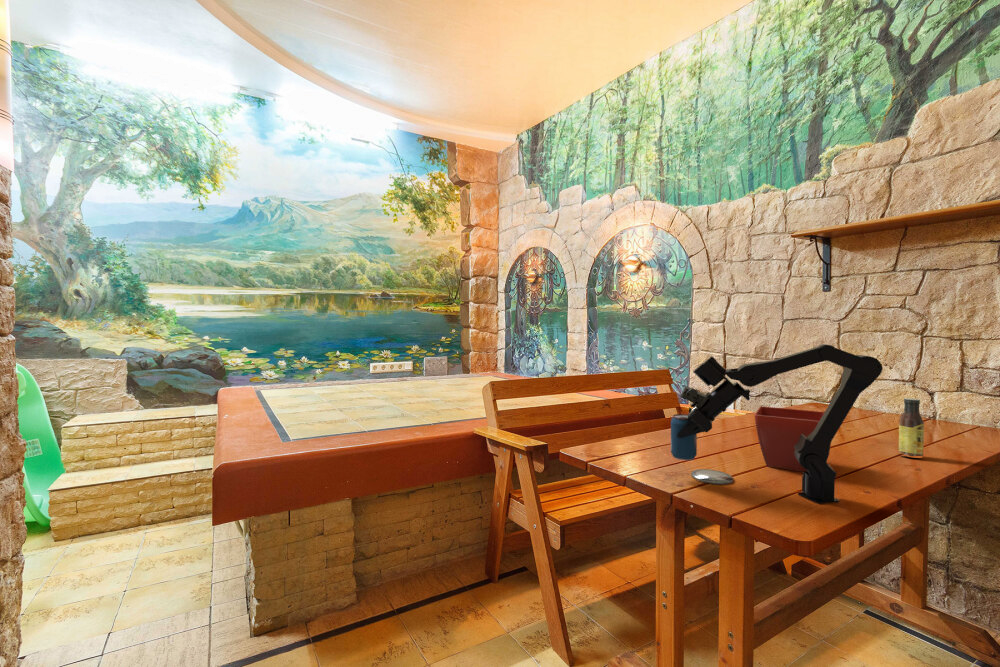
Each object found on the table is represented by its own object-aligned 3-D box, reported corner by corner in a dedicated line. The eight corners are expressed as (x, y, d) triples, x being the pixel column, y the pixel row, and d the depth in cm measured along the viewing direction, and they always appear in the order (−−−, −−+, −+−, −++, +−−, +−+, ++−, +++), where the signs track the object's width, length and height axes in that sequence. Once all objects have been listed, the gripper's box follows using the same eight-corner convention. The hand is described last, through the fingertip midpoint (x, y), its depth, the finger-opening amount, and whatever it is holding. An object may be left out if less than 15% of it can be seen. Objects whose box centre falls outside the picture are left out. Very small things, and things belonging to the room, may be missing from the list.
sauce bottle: (922, 461, 148) (923, 401, 147) (897, 456, 153) (898, 399, 152) (924, 457, 152) (925, 399, 152) (900, 453, 157) (901, 396, 156)
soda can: (701, 460, 126) (701, 418, 126) (679, 461, 125) (678, 419, 125) (687, 453, 133) (687, 413, 133) (666, 454, 132) (666, 414, 132)
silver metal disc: (741, 483, 126) (741, 480, 126) (707, 485, 124) (707, 482, 124) (715, 470, 137) (715, 467, 137) (683, 473, 135) (683, 470, 135)
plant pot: (759, 453, 156) (760, 405, 156) (826, 463, 145) (827, 411, 145) (753, 467, 141) (753, 414, 140) (828, 479, 130) (829, 422, 129)
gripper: (698, 374, 135) (660, 407, 140) (698, 381, 118) (654, 419, 123) (727, 401, 132) (687, 435, 137) (731, 412, 115) (685, 450, 120)
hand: (678, 434), depth 129 cm, fingers closed on soda can, 7 cm apart
